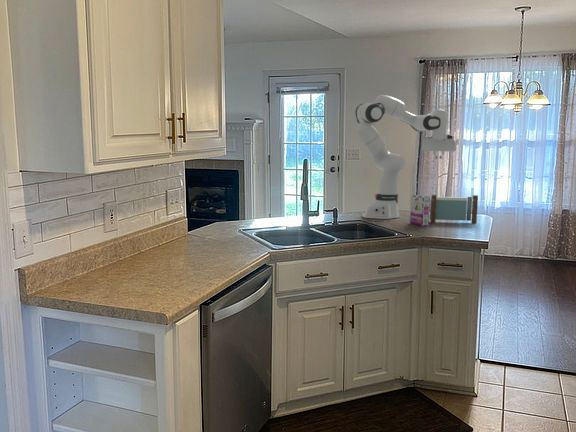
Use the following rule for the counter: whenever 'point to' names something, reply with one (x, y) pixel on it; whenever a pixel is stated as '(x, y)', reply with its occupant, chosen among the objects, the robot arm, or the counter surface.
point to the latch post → (433, 209)
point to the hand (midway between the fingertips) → (438, 158)
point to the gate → (452, 208)
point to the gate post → (474, 209)
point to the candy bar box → (420, 210)
